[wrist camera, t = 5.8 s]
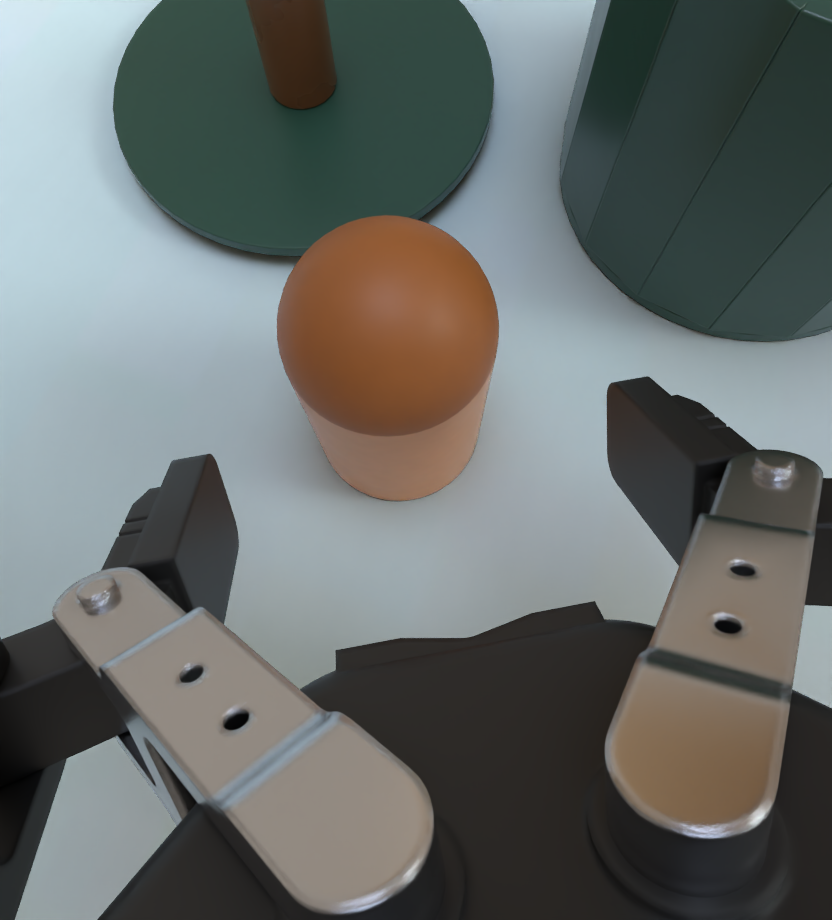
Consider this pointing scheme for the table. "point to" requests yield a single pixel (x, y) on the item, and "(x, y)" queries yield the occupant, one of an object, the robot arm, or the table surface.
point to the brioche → (390, 352)
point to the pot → (708, 161)
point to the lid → (301, 113)
